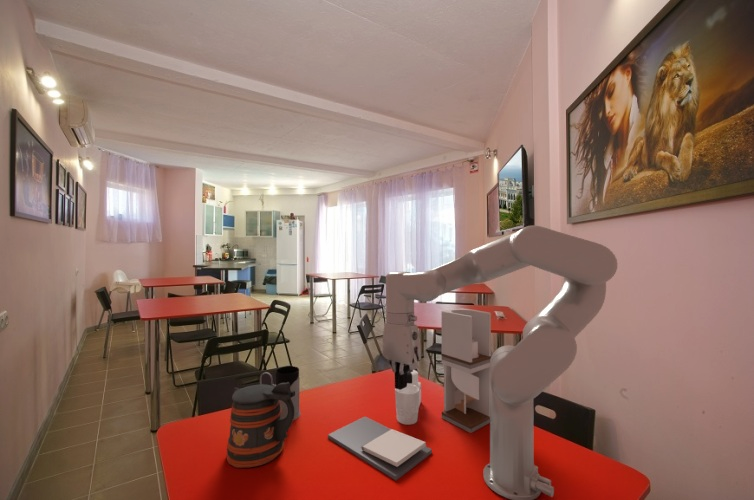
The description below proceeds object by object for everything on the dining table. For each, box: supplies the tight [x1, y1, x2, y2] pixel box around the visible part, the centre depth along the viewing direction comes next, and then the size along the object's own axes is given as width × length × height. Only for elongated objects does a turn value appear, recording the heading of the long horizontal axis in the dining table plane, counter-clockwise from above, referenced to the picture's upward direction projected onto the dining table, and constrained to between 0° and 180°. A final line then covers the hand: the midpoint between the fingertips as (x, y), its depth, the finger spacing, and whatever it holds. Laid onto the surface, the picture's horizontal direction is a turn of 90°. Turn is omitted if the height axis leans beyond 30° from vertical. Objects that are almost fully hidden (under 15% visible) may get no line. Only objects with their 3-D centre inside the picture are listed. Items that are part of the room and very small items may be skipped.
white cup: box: [394, 384, 420, 426], centre depth 106 cm, size 8×8×10 cm
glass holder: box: [259, 365, 302, 421], centre depth 109 cm, size 9×14×15 cm, turn 81°
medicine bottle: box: [407, 369, 422, 409], centre depth 117 cm, size 7×7×12 cm
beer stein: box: [226, 382, 295, 469], centre depth 88 cm, size 19×15×20 cm
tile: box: [361, 428, 427, 467], centre depth 88 cm, size 13×12×1 cm
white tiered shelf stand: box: [441, 307, 492, 434], centre depth 106 cm, size 11×11×35 cm
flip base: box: [327, 416, 433, 481], centre depth 92 cm, size 26×15×1 cm, turn 46°
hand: (401, 387), depth 86 cm, fingers closed
